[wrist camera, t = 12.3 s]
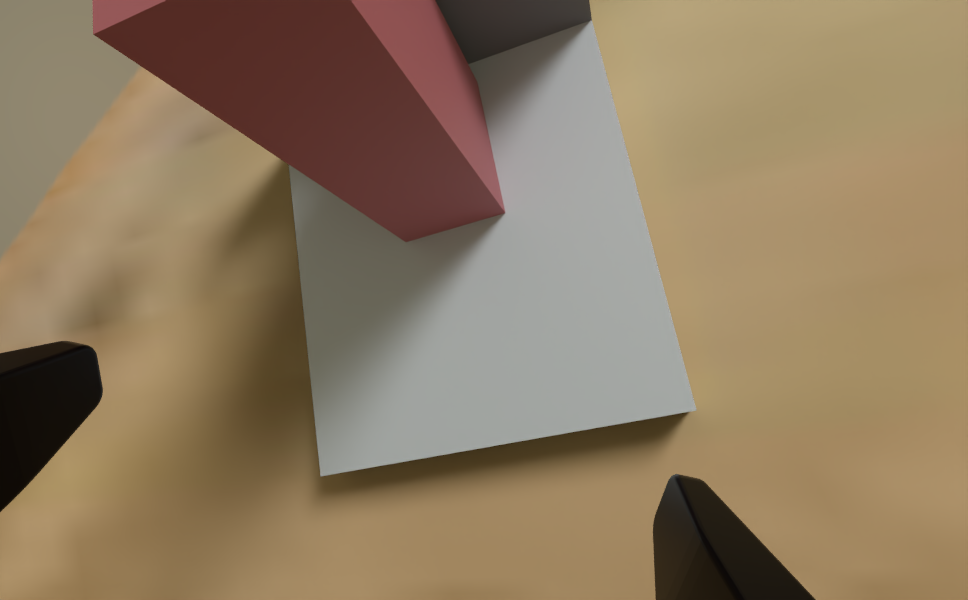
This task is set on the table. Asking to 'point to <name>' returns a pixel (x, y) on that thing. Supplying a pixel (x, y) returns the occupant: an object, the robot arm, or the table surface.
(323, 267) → the shelf
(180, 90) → the tall pink rectangular prism
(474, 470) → the table surface
